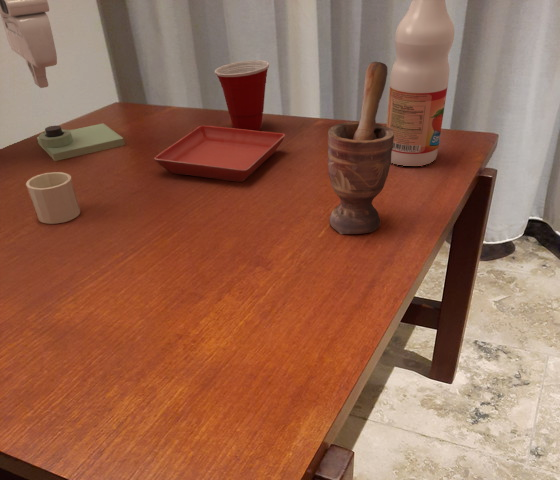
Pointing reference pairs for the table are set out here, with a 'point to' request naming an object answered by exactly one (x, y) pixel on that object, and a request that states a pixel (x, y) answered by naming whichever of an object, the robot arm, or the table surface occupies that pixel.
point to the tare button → (53, 131)
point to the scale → (80, 141)
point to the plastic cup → (244, 92)
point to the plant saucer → (220, 152)
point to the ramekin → (53, 197)
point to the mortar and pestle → (360, 160)
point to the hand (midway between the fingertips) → (42, 86)
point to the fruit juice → (419, 82)
